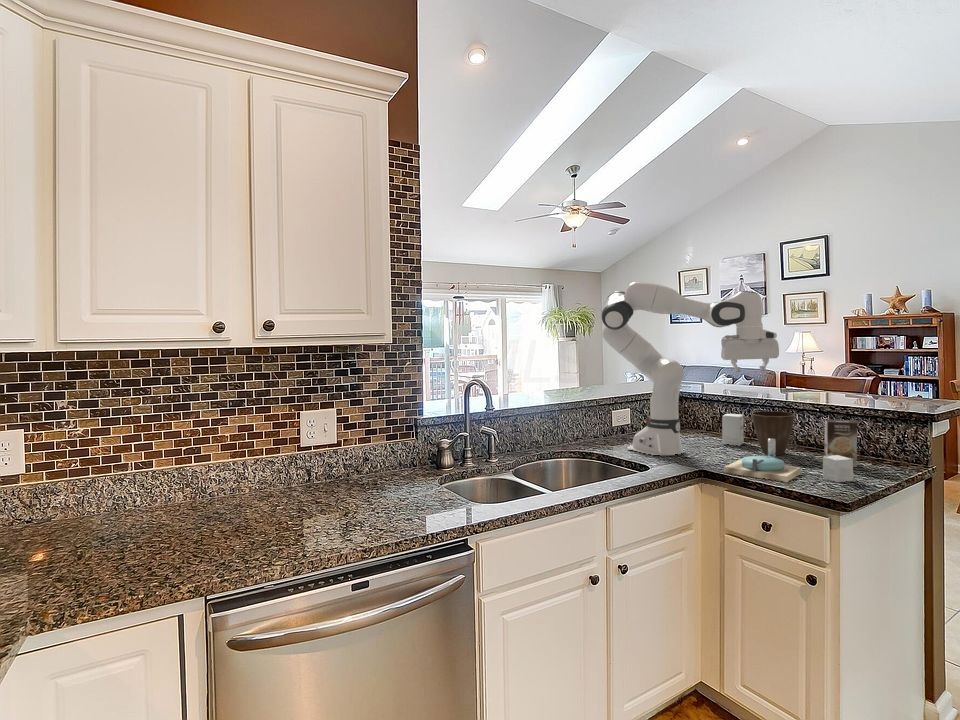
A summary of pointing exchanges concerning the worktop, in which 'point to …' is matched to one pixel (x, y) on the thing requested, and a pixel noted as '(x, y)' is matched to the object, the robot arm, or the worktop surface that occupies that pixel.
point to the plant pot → (773, 429)
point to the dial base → (778, 475)
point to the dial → (765, 459)
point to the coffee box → (841, 439)
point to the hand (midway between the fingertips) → (749, 371)
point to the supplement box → (732, 429)
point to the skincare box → (838, 468)
